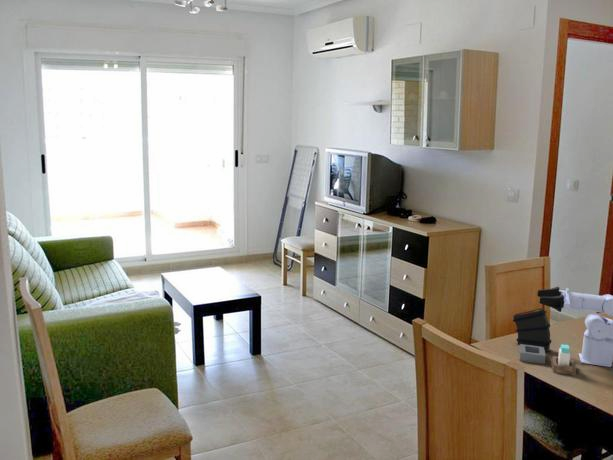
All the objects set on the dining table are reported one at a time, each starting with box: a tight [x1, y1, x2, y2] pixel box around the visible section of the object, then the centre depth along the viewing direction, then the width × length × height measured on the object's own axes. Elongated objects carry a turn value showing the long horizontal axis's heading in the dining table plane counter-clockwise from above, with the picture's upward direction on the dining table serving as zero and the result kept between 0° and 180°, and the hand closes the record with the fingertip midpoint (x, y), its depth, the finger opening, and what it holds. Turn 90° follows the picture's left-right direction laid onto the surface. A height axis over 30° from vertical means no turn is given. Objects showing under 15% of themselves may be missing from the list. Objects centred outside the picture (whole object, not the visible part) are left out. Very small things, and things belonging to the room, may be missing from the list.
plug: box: [557, 343, 571, 366], centre depth 191 cm, size 3×4×8 cm
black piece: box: [512, 307, 552, 352], centre depth 209 cm, size 4×13×15 cm, turn 54°
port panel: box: [518, 344, 546, 365], centre depth 200 cm, size 8×8×3 cm
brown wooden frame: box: [550, 355, 576, 376], centre depth 192 cm, size 7×8×2 cm
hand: (538, 296), depth 200 cm, fingers open, 7 cm apart
